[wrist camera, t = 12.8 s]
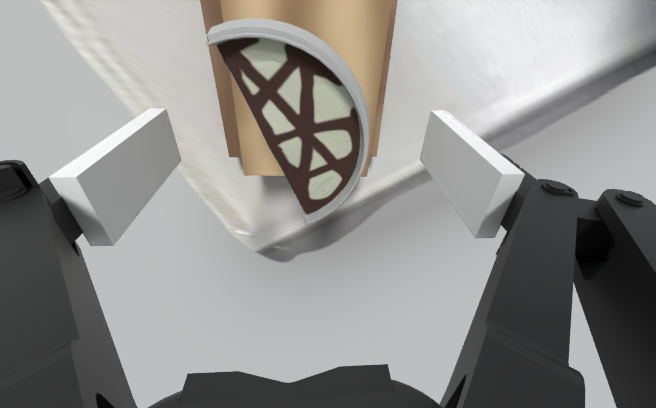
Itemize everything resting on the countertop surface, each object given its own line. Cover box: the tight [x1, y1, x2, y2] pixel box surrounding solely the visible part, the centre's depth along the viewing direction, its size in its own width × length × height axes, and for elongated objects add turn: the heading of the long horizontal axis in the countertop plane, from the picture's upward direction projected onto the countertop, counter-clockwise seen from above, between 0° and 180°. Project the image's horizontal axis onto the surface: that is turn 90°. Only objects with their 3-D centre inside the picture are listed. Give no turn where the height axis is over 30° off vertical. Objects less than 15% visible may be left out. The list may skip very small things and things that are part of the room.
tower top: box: [220, 0, 392, 177], centre depth 25 cm, size 12×16×4 cm
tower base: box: [200, 0, 397, 157], centre depth 28 cm, size 16×16×4 cm
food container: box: [206, 18, 370, 226], centre depth 19 cm, size 12×6×10 cm, turn 20°
